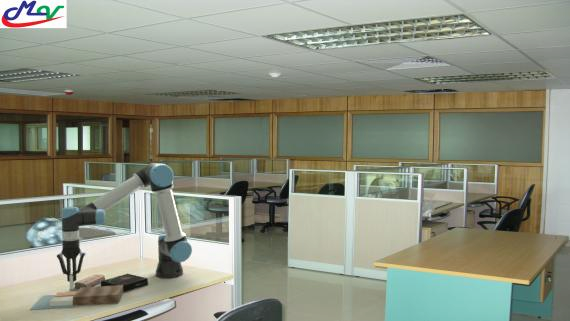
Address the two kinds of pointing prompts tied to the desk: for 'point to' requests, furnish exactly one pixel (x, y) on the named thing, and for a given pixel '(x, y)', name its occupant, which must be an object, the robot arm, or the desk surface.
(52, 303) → the ivory card
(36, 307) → the mat
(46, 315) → the desk surface
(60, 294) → the terracotta card
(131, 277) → the portable cd player
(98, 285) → the packaged product
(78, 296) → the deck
